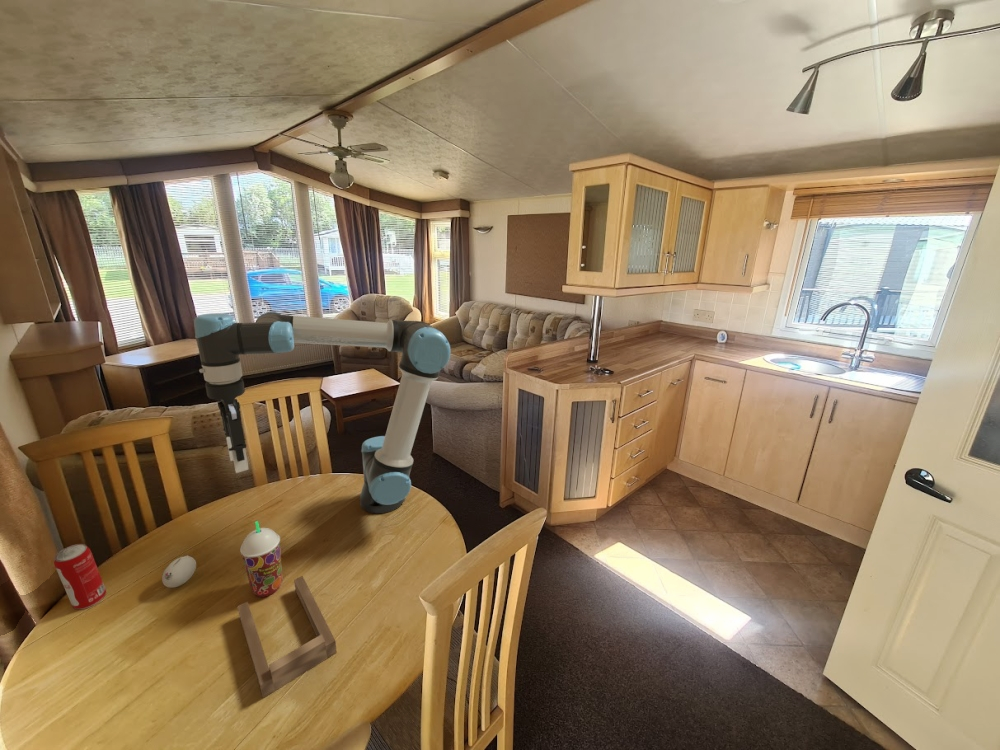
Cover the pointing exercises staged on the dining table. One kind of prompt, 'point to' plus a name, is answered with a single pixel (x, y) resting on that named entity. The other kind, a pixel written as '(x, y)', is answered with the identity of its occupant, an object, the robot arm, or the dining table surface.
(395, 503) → the robot arm
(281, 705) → the dining table surface
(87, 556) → the beverage can
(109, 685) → the dining table surface
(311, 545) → the dining table surface
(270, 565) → the smoothie
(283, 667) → the u rest
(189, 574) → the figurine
